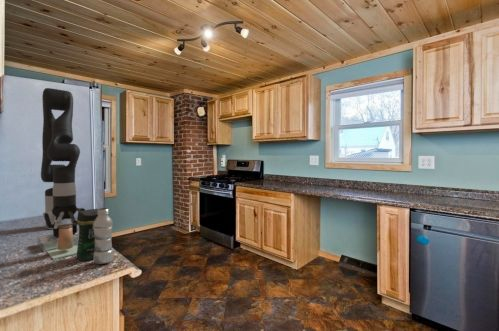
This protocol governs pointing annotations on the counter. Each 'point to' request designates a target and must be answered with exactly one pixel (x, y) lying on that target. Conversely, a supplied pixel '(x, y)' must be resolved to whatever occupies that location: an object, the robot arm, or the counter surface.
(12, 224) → the counter surface
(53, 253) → the mat
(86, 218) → the coffee jar
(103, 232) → the plastic bottle
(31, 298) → the counter surface
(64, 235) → the tan rounded cylinder
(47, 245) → the housing
